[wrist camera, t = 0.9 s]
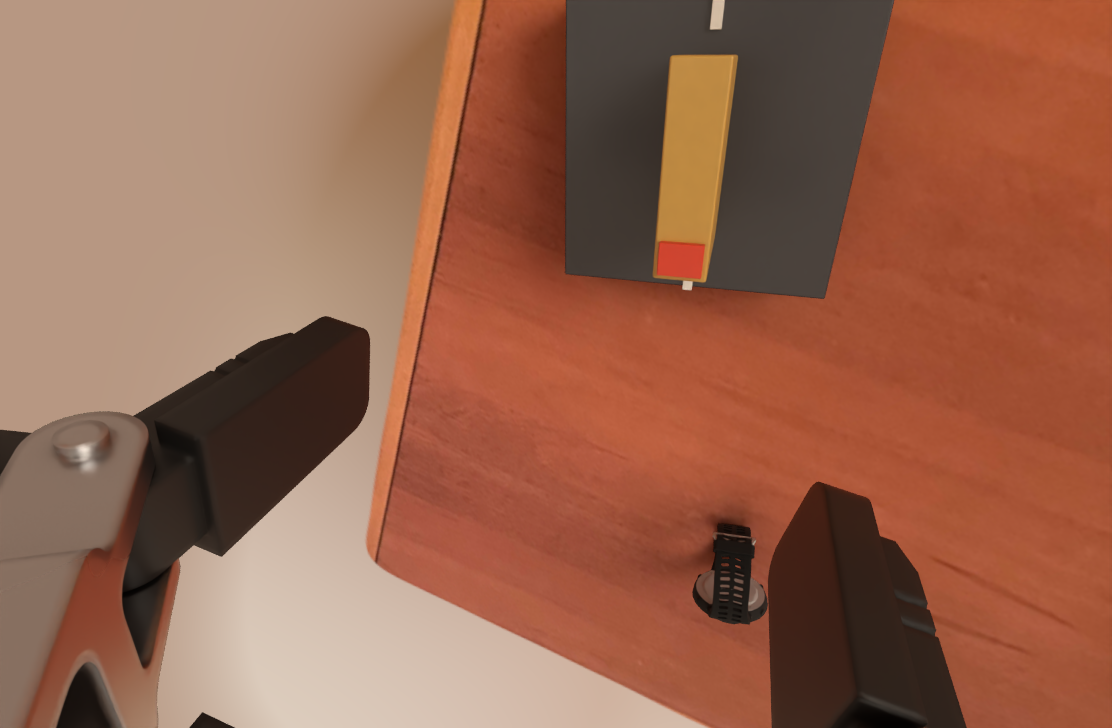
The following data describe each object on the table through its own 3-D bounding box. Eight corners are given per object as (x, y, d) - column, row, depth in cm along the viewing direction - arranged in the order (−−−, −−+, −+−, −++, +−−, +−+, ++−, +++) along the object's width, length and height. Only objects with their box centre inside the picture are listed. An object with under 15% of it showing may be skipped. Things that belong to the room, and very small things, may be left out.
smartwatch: (683, 549, 33) (674, 622, 28) (723, 486, 30) (719, 558, 26) (752, 579, 32) (753, 659, 28) (799, 520, 30) (807, 597, 25)
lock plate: (587, -9, 21) (564, -18, 19) (881, -19, 19) (902, -31, 16) (582, 255, 26) (563, 277, 24) (816, 275, 24) (824, 303, 21)
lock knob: (687, 55, 19) (668, 55, 14) (738, 54, 18) (734, 55, 14) (671, 234, 22) (650, 281, 17) (714, 237, 21) (705, 286, 17)
